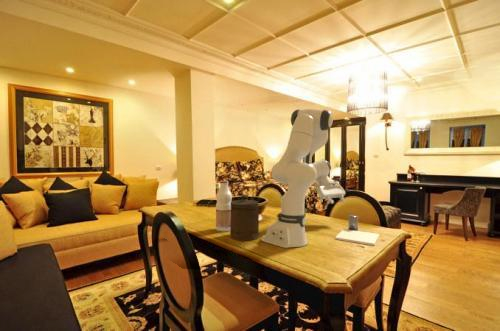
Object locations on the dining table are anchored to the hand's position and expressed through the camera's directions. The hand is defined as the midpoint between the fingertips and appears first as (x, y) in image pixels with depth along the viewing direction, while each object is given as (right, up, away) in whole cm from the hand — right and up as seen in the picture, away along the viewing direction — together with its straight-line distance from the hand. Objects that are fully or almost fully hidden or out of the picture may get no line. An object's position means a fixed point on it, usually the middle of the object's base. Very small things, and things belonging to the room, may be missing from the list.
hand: (338, 202), depth 153 cm
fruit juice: (-69, -14, -9) cm, 71 cm away
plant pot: (-22, -14, +7) cm, 27 cm away
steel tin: (+5, -14, -9) cm, 18 cm away
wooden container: (-57, -15, -22) cm, 63 cm away
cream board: (+2, -15, -24) cm, 28 cm away
